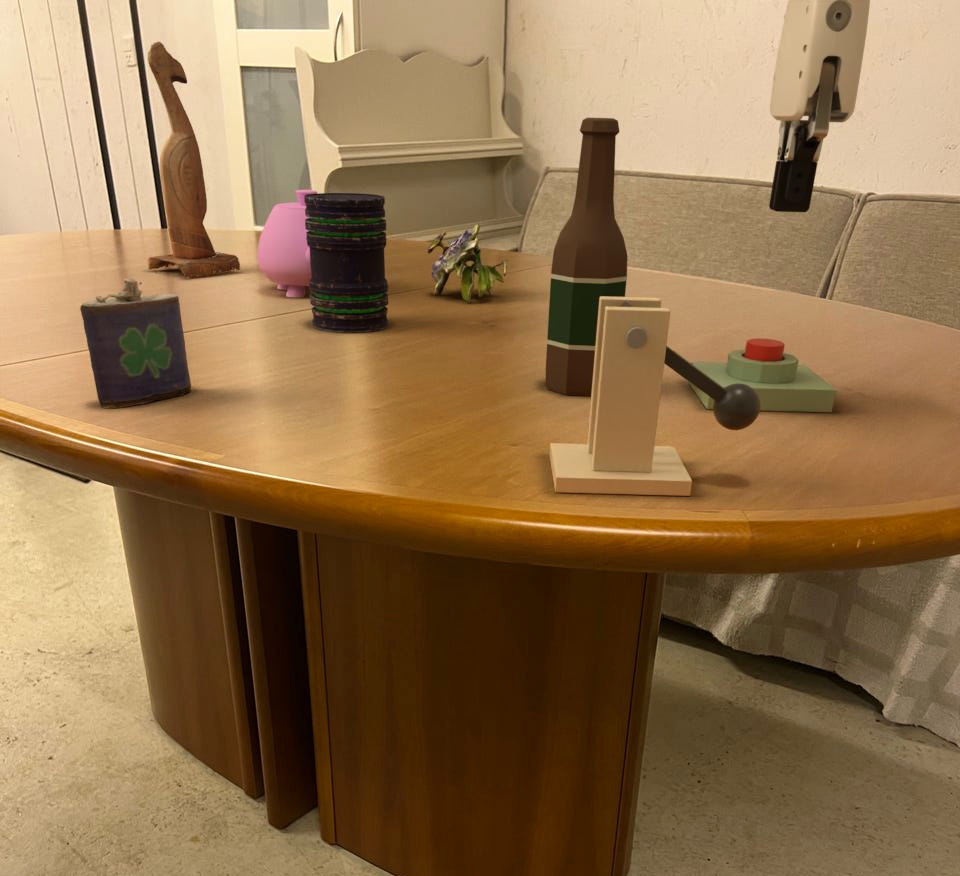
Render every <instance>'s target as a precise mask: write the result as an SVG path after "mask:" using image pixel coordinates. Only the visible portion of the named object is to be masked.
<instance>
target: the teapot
mask: <svg viewBox="0 0 960 876" xmlns="http://www.w3.org/2000/svg"><path fill="white" fill-rule="evenodd" d="M294 193H295V196H296V198H297V200H298V201H297V202H281V203H277V204H275V205H274V206H273V208H272V210H271V212H270V214H269V215H268V217H267V219H266V221H265V224H264V226H263V228H262V231H261V233H260V237H259V240H258V246H257V257H256V258H257V259H256V261H257V266H258V268H259V270H260V271H261V272H262V273H263V275H264V276H265V277H266V278H267V279H268V281H270V282H271V283H275V284H278V285H277V286H276V287H277V288H276V289H278V290H283V291H284V290H285V291H286V293H285V297H288V298H302V297H305V296H306V287H309V285H310V284H309V281H310V279H311V263H310V248H309V246H308V245H307V240H306V238H307V236H306V232H308V231H309V230H306V229H305V227H306V226H305V219H307V218H309V217H306V216H305V209H306V204H305V200H304V196H305V195H308V194H318V191H317V190H314V189H297V190H295V192H294Z"/></svg>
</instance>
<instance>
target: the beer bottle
mask: <svg viewBox="0 0 960 876" xmlns="http://www.w3.org/2000/svg"><path fill="white" fill-rule="evenodd" d="M580 124H581V125H580V127H579V132H580V133H581V134H582V138H581V144H580V145H581V147H580V154H579V163H578V169H577V170H578V172H577V180H576V187H575V194H574V195H575V197H574V200H573V205H572V210H571V214H570V216H569V218H568V219H567V221H566V223H565V224H564V226H563V227H562V229H561V230H560V231H559V235H558V237H557V240H556V242H555V245H554V248H553V253H552V260H551V271H550V285H549V286H550V287H549V303H548V304H549V305H548V322H547V323H548V324H547V339H546V353H545V355H546V356H545V387H546V389H547V390H549V391H552V392H555V393H558V394H562V395H565V396H579V397H580V396H582V397H591V394H592V382H593V370H594V358H595V346H596V334H597V322H598V310H599V298H600V297H601V296H607V297H626V290H627V279H628V252H627V247H626V241H625V238H624V235H623V233H622V231H621V228H620V226H619V224H618V222H617V220H616V217H615V215H616V214H615V201H614V200H615V199H614V198H615V197H614V196H615V172H616V171H615V169H616V142H617V141H616V140H617V139H616V138H617V135H618V134H619V133H620V126H619V121H618V120H617V119H615V118H613V117H586V118H585V117H584V119H582V121H581V123H580Z"/></svg>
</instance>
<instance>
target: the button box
mask: <svg viewBox="0 0 960 876" xmlns="http://www.w3.org/2000/svg"><path fill="white" fill-rule="evenodd" d="M745 349H746V348H743V349H735V350H732V351H731V352H729V353H728V355H727V361H726V362H723V361H721V362H720V361H719V362H718V361H690V363H691V364H692V365H694V366H695V367H696V368H698V369H699V370H700V371H702V372H703V373H704V374H706V375H707V376H709V377H710V378H711V379H713V380H714V381H715V382H717V383H718V384H719V385H721V386H722V387H723V388H725V387H726V386H728V385H731V384H735V383H742V384H746V385H748V386H750V387H752V388H753V389H754V390H755V391H756V392H757V394H758V396H759V399H760V411H762V412H763V411H764V412H796V413H797V412H798V413H800V412H801V413H832V412H833V408H834V404H835V403H834V402H835V398H836V393H837V389H836V388H834V386H832V385H831V384H830V383H829V382H827V381H826V380H825V379H824V378H822V377H821V376H820V375H819V374H817V373H816V372H815V371H814V370H812V368H810V367H809V366H808V365H807V364H799V361H800V359H799V358H797V356H795V355H793V354H790V353H786V352H783V357H782V361H776V362H768V361H757V360H751V359H747V358H744V355H745ZM687 383H688V385H689V386H690V387H691V389H692V390H693V392H694V393H695V394H696V396H697V397H698V399H699V400H700V401H701V403H702V404H703V406H704V407H705V409H706V410H713V405H714V401H715V400H714V399H712V398H711V397H709V396H708V395H707V394H705V393H704V392H703V391H701V390H700V389H699V388H697V387H696V386H694V385H693V384H692V383H690V382H689V381H688V380H687Z"/></svg>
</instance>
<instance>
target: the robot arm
mask: <svg viewBox="0 0 960 876" xmlns="http://www.w3.org/2000/svg"><path fill="white" fill-rule="evenodd" d="M870 4H871V0H787V4H786V9H785V13H784V16H783V24H782V28H781V34H780V40H779V45H778V50H777V55H776V62H775V67H774V73H773V79H772V87H771V95H770V102H769V103H770V105H769V112H770V115H771V116H772V118H773V119H775V121H780V122H779V129H778V133H779V137H778V138H779V139H778V147H777V154H776V161H775V166H774V173H773V180H772V185H771V193H770V196H769V202H768V203H769V204H768V207H769V210H771V211H773V212H778V213H779V212H780V213H807V212H809V210H810V207H811V201H812V196H813V192H814V191H813V189H814V186H815V185H814V184H815V179H816V174H817V167H818V162H819V160H820V157H821V152H822V146H823V142H824V139H825V138H827V136H828V134H829V129H830V124H831V123H845V122H847V121H848V120H849V119H850V118H851V117H852V116H853V114H854V112H855V108H856V103H857V96H858V90H859V85H860V79H861V72H862V66H863V59H864V52H865V47H866V41H867V40H866V38H867V32H868V24H869V15H870V6H871V5H870ZM803 117H807V119H802V118H803Z"/></svg>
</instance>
